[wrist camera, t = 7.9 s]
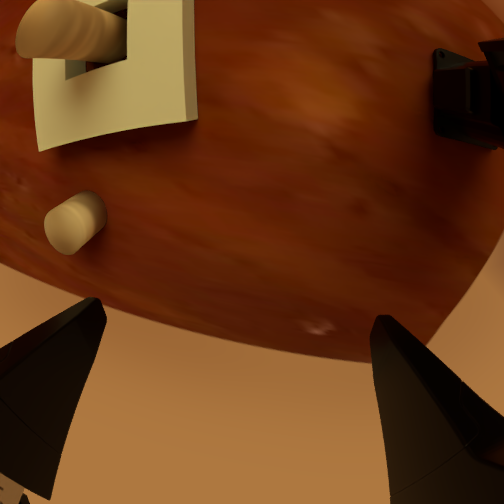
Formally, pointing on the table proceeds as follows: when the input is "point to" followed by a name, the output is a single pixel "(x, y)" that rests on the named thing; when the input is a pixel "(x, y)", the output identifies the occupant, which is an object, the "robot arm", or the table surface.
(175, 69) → the board
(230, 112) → the table surface
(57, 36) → the long pin
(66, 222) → the short pin
